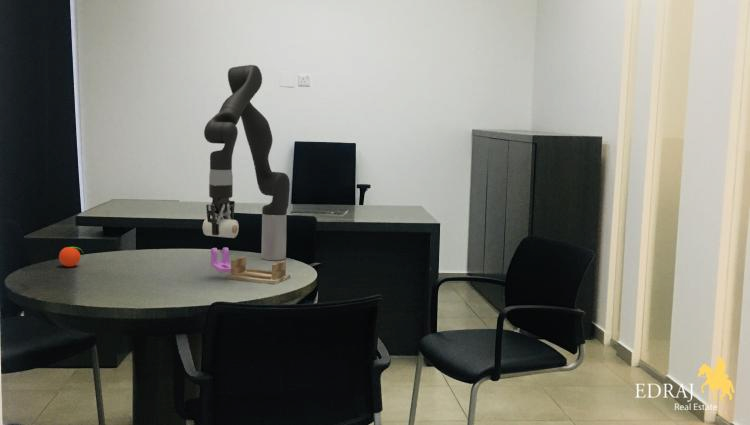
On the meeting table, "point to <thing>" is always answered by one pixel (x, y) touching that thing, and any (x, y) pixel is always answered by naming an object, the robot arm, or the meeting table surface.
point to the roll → (222, 228)
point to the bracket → (223, 265)
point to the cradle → (257, 272)
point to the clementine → (69, 256)
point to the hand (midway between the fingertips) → (220, 233)
